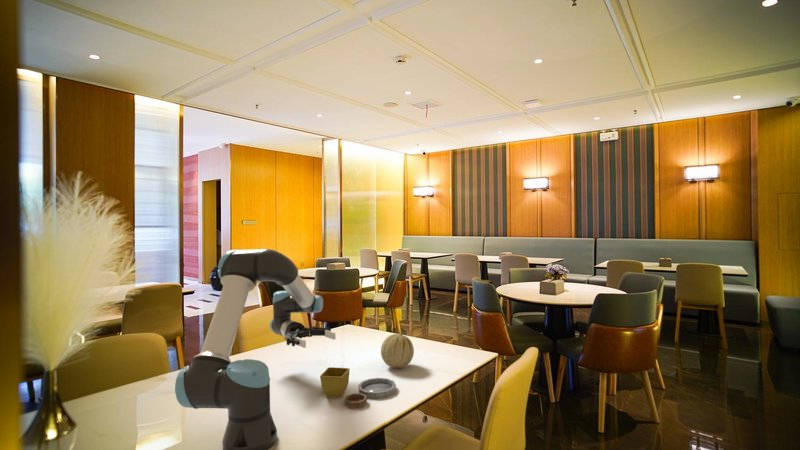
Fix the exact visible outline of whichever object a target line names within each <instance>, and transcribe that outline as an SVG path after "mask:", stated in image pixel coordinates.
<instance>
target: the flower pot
mask: <svg viewBox="0 0 800 450" xmlns="http://www.w3.org/2000/svg"><path fill="white" fill-rule="evenodd" d="M319 378H320V384H321V389H322V392H323V394H324V396H325V397H326V398H329V399H341V398H342V397H343V395H344V394H345V392H346V390H347V388H348V385H349V381H350V367H349V368H347V367H331V366H330V367H327V368H326V370H324V371H323V372H322V373H321V374H320V376H319Z"/></svg>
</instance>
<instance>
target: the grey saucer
mask: <svg viewBox="0 0 800 450" xmlns="http://www.w3.org/2000/svg"><path fill="white" fill-rule="evenodd" d="M396 389H397V384H396V383H395V381H394V380H393V379H390V378H387V377H385V378H383V377H374V378H373V377H372V378H368V379H365V380H363V381H361V382H359V384H358V385H357V390H358V393H362V394H364V395H366V396H367V399H383V398H388V397H389V396H392V395H393V394H395V392H396Z"/></svg>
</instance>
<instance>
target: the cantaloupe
mask: <svg viewBox="0 0 800 450" xmlns="http://www.w3.org/2000/svg"><path fill="white" fill-rule="evenodd" d="M414 349H415V348H414V345H413V342H412V340H411V339H410V338H409V337H408V336H406V335H404V334H403V333H402V331H400V332H399V333H393V334H390V335H388V336H387V337H386V338H385V339H384V340H383V341H382V345H381V347H380V355H381V358H382V360H383V362H384V363H385V365H387V366H389V367H391V368H393V369H402V368H405V367H407V366H408V365H409V364H410V363H411V362H412V360H413V359H414V355H415V353H414V352H415V350H414Z"/></svg>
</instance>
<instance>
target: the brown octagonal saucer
mask: <svg viewBox="0 0 800 450" xmlns="http://www.w3.org/2000/svg"><path fill="white" fill-rule="evenodd" d="M367 401H368V398H367V396H366V395H364V394H362V393H359V392H358V393H357V392H354V393H350V394H348V395H346V396H345V398H344V405H345V407H346V408H348V409H351V410H352V409H353V410H356V409H361V408H365V406H366V405H367Z"/></svg>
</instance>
